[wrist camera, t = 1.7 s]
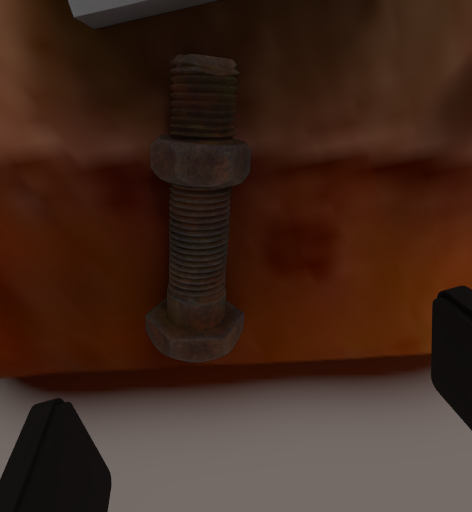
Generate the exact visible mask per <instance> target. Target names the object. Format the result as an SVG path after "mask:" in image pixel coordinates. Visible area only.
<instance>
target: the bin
mask: <svg viewBox="0 0 472 512" xmlns="http://www.w3.org/2000/svg"><path fill="white" fill-rule="evenodd" d="M214 1H219V0H68V2H69V5H70V8H71V11H72V13H73V16H74V18H76V19H78V20H79V21H81V22H83V23H84V24H86V25H88V26H89V27H91V28H93V29H98V28H102V27H106V26H111V25H115V24H119V23H124V22H128V21H132V20H137V19H141V18H145V17H149V16H154V15H158V14H162V13H167V12H171V11H175V10H180V9H184V8H188V7H193V6H197V5H201V4H206V3H210V2H214Z"/></svg>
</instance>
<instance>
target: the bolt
mask: <svg viewBox="0 0 472 512" xmlns="http://www.w3.org/2000/svg"><path fill="white" fill-rule="evenodd" d="M170 64H171V65H172V66H173V67H174V68H172V69H171V70H170V72H171V73H172V74H173V75H174V76H172V77H171V78H169V79H170V80H171V81H172V82H173V83H174V84H173V85H171V86H170V88H171V89H172V90H173V91H174V92H172V93H171V94H169V95H170V96H171V97H172V98H173V100H172V101H171V102H169V103H170V104H171V105H172V106H173V108H172V109H170V112H171V113H172V114H173V116H171V117H170V119H171V120H172V121H173V123H172V124H170V125H169V126H170V127H171V128H172V129H173V130H172V131H171V132H169V133H170V134H171V135H162V136H159V137H158V138H157V139H156V140H155V141H154V142H153V143H152V144H151V145H150V154H151V169H152V170H153V171H154V173H155V174H156V175H157V176H158V177H159V178H160V179H161V180H164V181H166V182H168V183H170V184H171V185H172V186H170V187H169V190H171V191H172V192H171V193H170V194H169V196H170V197H171V199H170V200H169V203H170V204H171V205H170V206H169V210H170V211H171V212H170V213H169V216H170V217H171V218H170V219H169V222H170V225H169V228H170V230H169V234H170V236H169V240H170V242H169V245H170V247H169V251H170V253H169V257H170V258H169V286H168V288H167V298H166V299H164V300H163V301H162V302H161V303H160V304H158V305H157V306H156V307H155V308H154V309H152V310H151V311H150V312H149V313H148V314H146V332H147V334H148V336H149V337H150V339H151V341H152V342H153V344H154V345H155V346H156V348H157V349H158V350H159V351H160V352H161V353H163V354H164V355H166V356H168V357H171V358H174V359H178V360H181V361H186V362H205V361H209V360H213V359H216V358H219V357H222V356H224V355H226V354H228V353H229V352H230V351H231V350H232V348H233V347H234V345H235V344H236V342H237V340H238V338H239V336H240V334H241V332H242V329H243V322H244V313H243V312H242V311H240V310H239V309H238V308H236V307H235V306H233V305H232V304H231V303H229V302H228V301H226V288H225V281H226V280H225V279H226V262H227V258H226V257H227V251H228V238H229V237H228V233H229V230H228V228H229V221H230V218H229V216H230V212H229V210H230V205H229V204H230V202H231V200H230V199H229V198H230V197H231V193H230V191H231V189H232V188H231V186H234V185H238V184H240V183H242V182H243V181H244V180H245V179H246V177H247V176H248V174H249V173H250V163H251V149H250V148H249V147H248V145H247V144H246V143H245V142H244V141H241V140H237V139H233V138H232V137H233V136H234V135H235V133H234V132H233V131H232V130H233V129H234V128H235V127H236V126H235V125H234V124H233V122H234V121H235V120H237V119H236V118H235V117H233V115H234V114H235V113H236V112H237V111H235V110H234V109H233V108H234V107H235V106H236V105H237V103H236V102H234V100H235V99H236V98H237V97H238V96H237V95H236V94H235V92H236V91H237V90H238V89H239V88H238V87H236V86H235V84H236V83H237V82H239V80H238V79H237V78H236V76H237V75H238V74H240V73H239V72H238V71H237V70H236V67H237V64H236V63H235V61H234V60H233V59H228V58H221V57H214V56H206V55H199V54H188V55H180V54H178V55H177V56H176V57H175V58H174V59H173V60H172V61H171V62H170Z"/></svg>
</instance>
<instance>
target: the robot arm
mask: <svg viewBox="0 0 472 512" xmlns="http://www.w3.org/2000/svg"><path fill="white" fill-rule="evenodd" d="M431 379H432V382H433V385H434V386H435V388H436V390H437V391H438V392H439V393H440V395H441V396H442V397H443V398H444V399H445V400H446V402H447V403H448V404H449V405H450V406H451V407H452V408H453V410H454V411H455V412H456V413H457V414H458V415H459V416H460V418H462V419H463V421H464V422H465V423H466V424H467V425H468V427H469V428H470V429H471V430H472V290H471V289H469V288H468V287H466V286H458V287H455V288H451V289H448V290H444V291H441V292H439V294H438V296H437V299H434V301H433V306H432V360H431ZM110 491H111V475H110V472H109V469H108V467H107V466H106V464H105V462H104V460H103V459H102V457H101V455H100V453H99V451H98V450H97V448H96V446H95V444H94V442H93V441H92V439H91V437H90V435H89V434H88V432H87V430H86V428H85V427H84V425H83V423H82V421H81V419H80V418H79V416H78V414H77V413H76V411H75V409H74V407H73V405H72V404H71V403H70V402H64V401H63V400H62V399H61V398H57V399H53V400H49V401H46V402H42V403H38V404H35V405H34V406H33V407H32V408H31V410H30V412H29V414H28V417H27V419H26V421H25V424H24V426H23V428H22V430H21V433H20V435H19V437H18V440H17V442H16V444H15V447H14V449H13V451H12V453H11V456H10V458H9V460H8V463H7V465H6V467H5V470H4V472H3V474H2V477H1V479H0V512H107V511H108V504H109V498H110Z"/></svg>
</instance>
